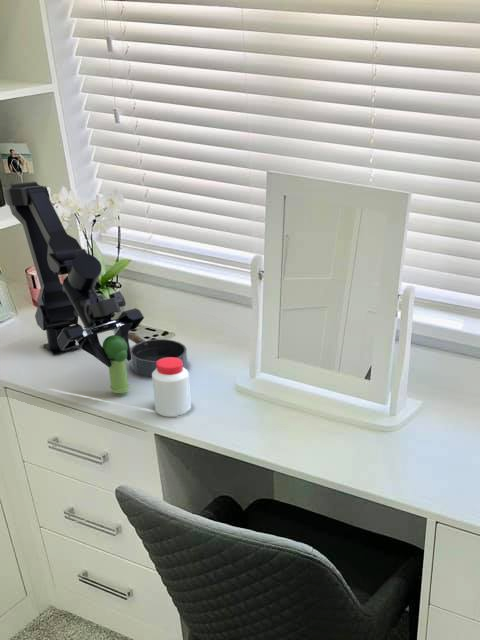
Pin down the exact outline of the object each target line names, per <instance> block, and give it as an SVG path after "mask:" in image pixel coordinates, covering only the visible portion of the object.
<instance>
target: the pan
mask: <svg viewBox="0 0 480 640" xmlns="http://www.w3.org/2000/svg"><path fill="white" fill-rule="evenodd" d="M145 343H147V344H148V346H147V347H146V348H145V347H144V344H145ZM187 349H188V348H187V347H186V345H184V344H183V343H181V342H179V341H176V340H172V339H167V338H166V339H165V338H164V339H163V338H162V339H160V338H158V339H147V340H145V341H143V342H140V343H138V344H136V343H135V344H133V346H132V347H130V353H131V360H130V367H131V369H132V372H134V373H135V374H136V375H139V376H140V377H141V376H142V377H145V378H151V379H152V372H153V371H154V370H155V369H156V368H157V366H156V362H157V361H158V360H159V359H162V358H166V357H175V358H179V359H181V360H182V361H183V367H184V368H185V369H187V368H188V364H189V363H188V362H189V361H188V351H187Z"/></svg>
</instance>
